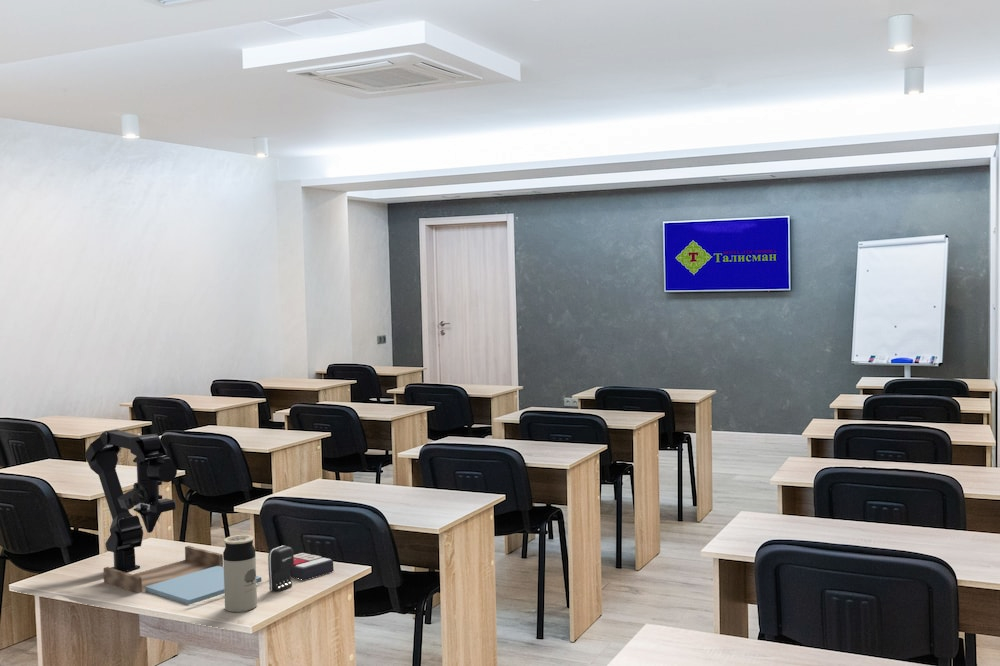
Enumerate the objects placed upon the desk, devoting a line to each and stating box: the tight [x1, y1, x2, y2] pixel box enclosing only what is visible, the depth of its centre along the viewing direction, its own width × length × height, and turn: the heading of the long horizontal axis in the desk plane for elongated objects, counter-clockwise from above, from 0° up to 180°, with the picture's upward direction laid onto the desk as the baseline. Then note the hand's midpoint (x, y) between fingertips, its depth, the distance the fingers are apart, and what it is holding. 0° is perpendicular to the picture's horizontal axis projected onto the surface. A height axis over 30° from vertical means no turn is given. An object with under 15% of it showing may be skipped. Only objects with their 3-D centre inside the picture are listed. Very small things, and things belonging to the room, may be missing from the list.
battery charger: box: [267, 545, 295, 592], centre depth 247 cm, size 7×4×11 cm, turn 151°
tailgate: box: [144, 566, 262, 606], centre depth 248 cm, size 1×23×20 cm
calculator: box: [290, 552, 335, 581], centre depth 264 cm, size 11×4×15 cm
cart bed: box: [103, 545, 224, 594], centre depth 259 cm, size 17×27×5 cm, turn 143°
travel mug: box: [222, 534, 258, 613], centre depth 232 cm, size 8×8×18 cm
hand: (149, 532), depth 260 cm, fingers closed
